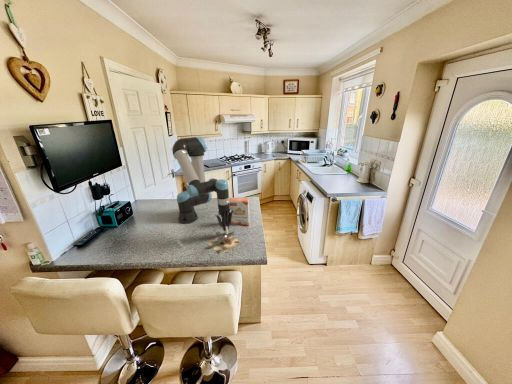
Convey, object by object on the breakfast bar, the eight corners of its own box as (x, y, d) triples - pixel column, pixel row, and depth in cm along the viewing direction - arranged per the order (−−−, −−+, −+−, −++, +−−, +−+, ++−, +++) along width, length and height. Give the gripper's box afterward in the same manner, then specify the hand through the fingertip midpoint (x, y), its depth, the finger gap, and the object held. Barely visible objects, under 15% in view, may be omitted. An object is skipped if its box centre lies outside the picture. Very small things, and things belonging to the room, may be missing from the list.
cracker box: (231, 225, 154) (229, 201, 146) (232, 221, 159) (230, 197, 152) (249, 226, 152) (247, 201, 144) (250, 222, 158) (249, 198, 150)
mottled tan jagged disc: (206, 243, 133) (205, 239, 132) (227, 233, 144) (227, 229, 142) (219, 256, 121) (219, 251, 120) (242, 244, 132) (241, 240, 130)
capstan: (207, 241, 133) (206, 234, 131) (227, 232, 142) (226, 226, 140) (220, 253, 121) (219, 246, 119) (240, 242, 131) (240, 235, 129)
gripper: (218, 208, 123) (221, 240, 132) (235, 202, 131) (237, 232, 140) (211, 204, 129) (215, 235, 137) (228, 198, 137) (231, 228, 145)
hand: (226, 233), depth 139 cm, fingers closed
